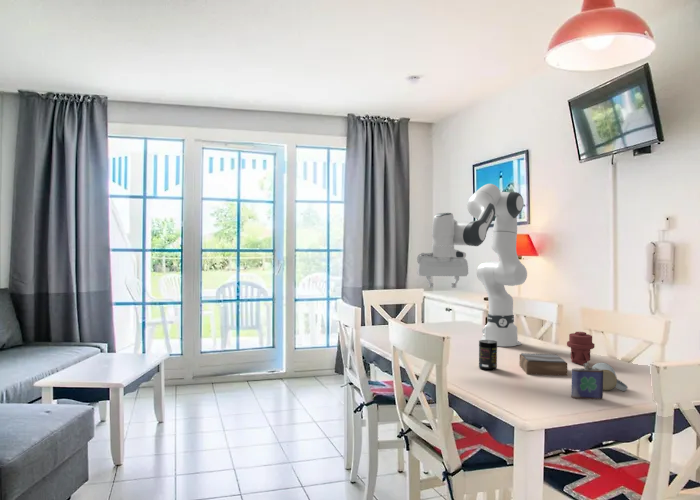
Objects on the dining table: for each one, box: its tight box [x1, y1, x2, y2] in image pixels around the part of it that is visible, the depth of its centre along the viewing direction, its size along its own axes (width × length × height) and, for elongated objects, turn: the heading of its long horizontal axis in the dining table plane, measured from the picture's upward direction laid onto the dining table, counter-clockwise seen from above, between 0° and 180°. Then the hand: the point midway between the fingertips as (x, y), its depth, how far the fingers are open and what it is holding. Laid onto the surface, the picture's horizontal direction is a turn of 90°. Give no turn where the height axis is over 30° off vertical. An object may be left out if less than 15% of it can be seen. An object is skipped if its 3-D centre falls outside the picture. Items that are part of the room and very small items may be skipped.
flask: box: [570, 362, 604, 401], centre depth 155 cm, size 9×3×11 cm, turn 84°
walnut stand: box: [519, 352, 568, 377], centre depth 189 cm, size 13×14×5 cm
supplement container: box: [478, 339, 498, 372], centre depth 191 cm, size 7×7×10 cm
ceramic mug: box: [591, 362, 628, 392], centre depth 165 cm, size 11×8×8 cm
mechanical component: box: [566, 331, 596, 366], centre depth 200 cm, size 12×10×10 cm
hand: (442, 287), depth 202 cm, fingers open, 8 cm apart
